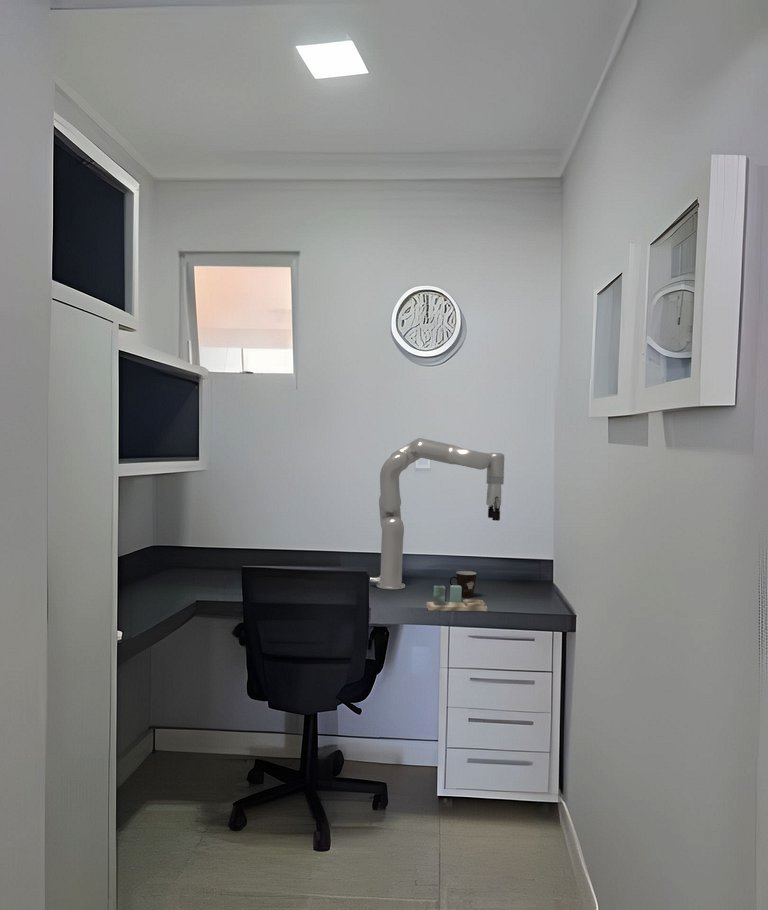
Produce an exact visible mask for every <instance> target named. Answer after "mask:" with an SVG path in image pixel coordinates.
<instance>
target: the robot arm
mask: <svg viewBox="0 0 768 910" xmlns="http://www.w3.org/2000/svg"><path fill="white" fill-rule="evenodd" d="M420 459H425V460H430V461H435V462H440V463H445V464H447V465H448V464H449V465H456V466H462V467H466V468H471V469H477V470H480V471H481V470H482V471H483V470H485V469H486V484H487V490H486V502H485V503H486V504H485V505H486V506H488V507H487V508H488V509H487V510H488V511H487V518H488V519H491V520H492V521H496V522H497V521H500V520H501V506H502V485H504V482H505V481H504V480H505V479H504V478H505V455H504V454H503V453H502V452H490V453H488V452H482V451H481V452H480V451H477V450H471V449H467V448H463V447H460V446H456V445H454V444H451V443H450V444H449V443H446V442H440V441H435V440H431V439H427V438H416V439H414V440H412V441H411V442H408V444H406V445H404V446H403V447H401V448H399V449H397V450H395V451H394V452H392V453H391V455H390V456H389V457H388V458H387V459H386V460H385V461H384V463H383V464H382V467H380V472H379V484H380V485H379V487H380V488H379V490H380V495H379V498H378V507H379V508H378V510H379V520H380V528H381V544H380V545H381V547H380V549H381V550H380V552H381V553H380V575H379V576H376V577H373V576H372V577H369V582H370V583H371V582H372V583H376V587H377V588H379V589H383V590H402V589H405V588H406V584H405V583H402V582H403V558H404V557H403V556H404V555H403V551H404V534H405V526H404V522H403V520H402V516H401V515H402V513H401V505H402V497H401V493H400V492H401V491H400V475H401V474H402V472H403V471H405V470H406V469H408V467H409V466H410V465H412V464H414V463H415V462H416V461H418V460H420Z"/></svg>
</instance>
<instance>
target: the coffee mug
mask: <svg viewBox="0 0 768 910" xmlns="http://www.w3.org/2000/svg"><path fill="white" fill-rule="evenodd" d="M455 573H456V574H455V576H451V577H450V578H449V584H450V585H453V583H452V580H453V579H456V585H459V586H461V587H462V594H461V599H462V598H463V599H472V598H474V594H475V593H474V592H475V587H476V579H477V572H475V571H471V570H470V571H469V570H468V571H467V570H460V571H459V570H458V571H456V572H455Z"/></svg>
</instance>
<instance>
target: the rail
mask: <svg viewBox="0 0 768 910" xmlns="http://www.w3.org/2000/svg"><path fill="white" fill-rule="evenodd" d="M447 589H448V588H447V587H446V586H445V585H433V599H432V601H426V602H425V603H426V604H425V605H426V608H427V609H428V611H448V612H449V611H450V612H451V611H454V612H458V611H459V612H460V611H461V612H488V607H487V604H486V603H485V601H484V600H483V599H462V601H461V602H450V601H449V602H447V592H448V591H447Z"/></svg>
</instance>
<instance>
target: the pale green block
mask: <svg viewBox="0 0 768 910" xmlns="http://www.w3.org/2000/svg"><path fill="white" fill-rule="evenodd" d="M449 588H450V589H449V590H450V591H449V602H461V603H462V598H461V594H462V587H461V586H459V585H457V584H455V585H453V584H452V585H451V584H450V587H449Z"/></svg>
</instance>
